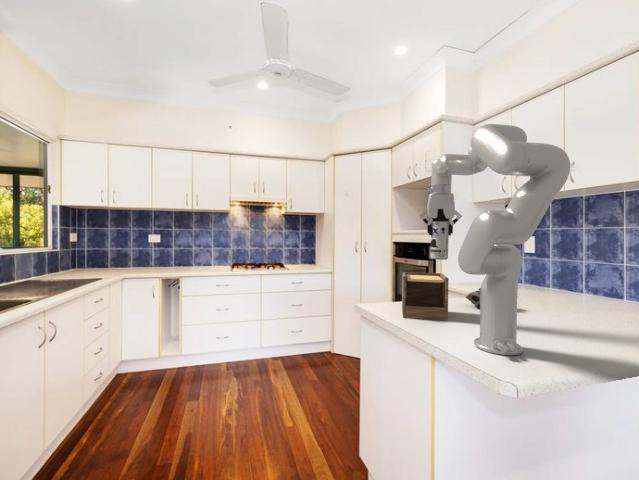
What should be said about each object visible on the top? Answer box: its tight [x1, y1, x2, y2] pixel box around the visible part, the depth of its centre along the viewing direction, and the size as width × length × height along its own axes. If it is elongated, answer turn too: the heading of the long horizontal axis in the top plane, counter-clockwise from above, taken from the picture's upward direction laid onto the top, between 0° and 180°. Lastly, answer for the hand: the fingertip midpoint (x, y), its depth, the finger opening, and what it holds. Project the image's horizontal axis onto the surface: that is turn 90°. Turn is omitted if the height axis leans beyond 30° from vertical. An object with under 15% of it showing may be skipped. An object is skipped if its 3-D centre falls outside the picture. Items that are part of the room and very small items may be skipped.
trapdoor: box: [406, 274, 444, 283], centre depth 129 cm, size 14×14×1 cm
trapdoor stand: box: [401, 271, 449, 322], centre depth 129 cm, size 17×17×17 cm
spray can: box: [429, 209, 450, 261], centre depth 121 cm, size 7×7×20 cm
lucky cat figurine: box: [465, 287, 481, 308], centre depth 143 cm, size 15×12×14 cm
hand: (439, 234), depth 121 cm, fingers closed on spray can, 6 cm apart
